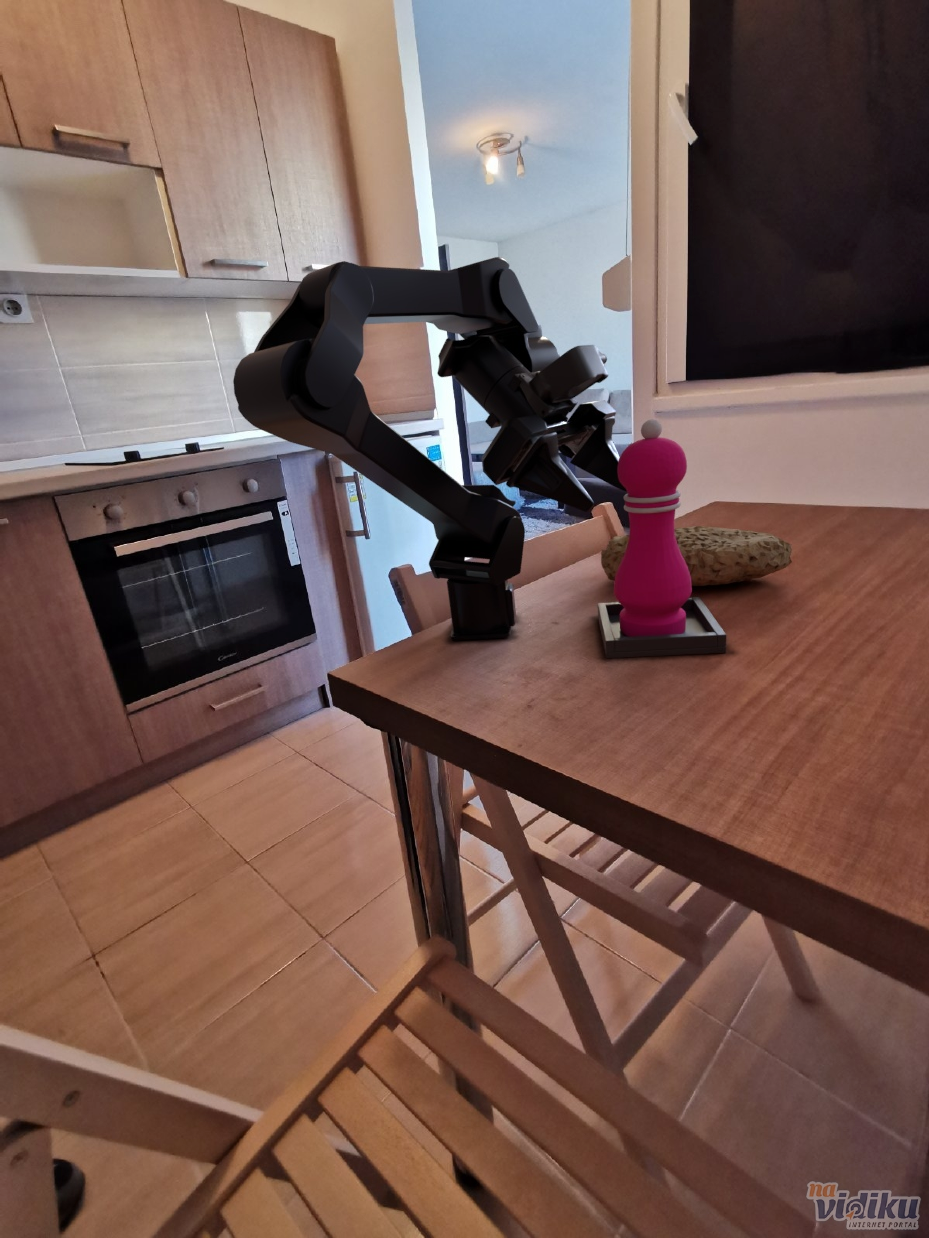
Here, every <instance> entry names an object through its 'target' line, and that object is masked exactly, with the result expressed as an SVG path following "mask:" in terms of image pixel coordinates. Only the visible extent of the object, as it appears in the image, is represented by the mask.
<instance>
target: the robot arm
mask: <svg viewBox="0 0 929 1238" xmlns="http://www.w3.org/2000/svg"><path fill="white" fill-rule="evenodd" d="M407 323H408V324H409V323H428V324H432V325H434V326H435V328H437V330H440V331H444V332H449V333H452V334H457V335H459V336H460V337H461V338H462V339H453V338H449V337H448V338H446V339H445V341H444V343H443V345H442V347H441V349H440V350H439V354H438V361H439V362H438V369H437V373H436V374H437V376H438V377H439V378H448V377H452V378H453V379H454V380H455V381H456V382H457V383H458V384H459V385H460V386H461V387H462V388H463V389H464V390H465V391H466V392H467V393H468V395H470V396H471V397H472V398H473V399H474V400H475V402H477V404H478V405H480V407H481V408H482V409H483V410H484V411H485V412H486V413H487V414H488V416H487V417H486V419H485V421H484V422H485V423H486V424H487V426H488V427H489V428H490V429H495V428H499V427H500V428H499V430H498V431H497V432H496V435H494V438H493V439H492V441H491V442H490V444H489V445H488V447H487V448H486V449H485V451H484V453H483V455H482V456H481V464H482V472H483V473H484V475H486V476H487V478H488V479H489V480H490V481H491V482H492V483H493V484H460V482H458V481H457V480H455V479H454V477H452V476H451V475H450V474H448V473H447V472H446V471H445V470H443V469H442V468H441V467H440V466H439V465H438V464H436V463H435V462H434V461H433V460H432V459H430V458H429V457H428V456H427V455H425V454H424V452H422V451H420V449H418V448H417V447H416V446H415V445H413V444H412V443H411V442H409V440H407V439H406V438H405V437H403V436H402V435H401V434H400V433H399V432H397V431H396V430H395V429H394V428H392V427H391V426H390V425H389V424H388V423H386V422H385V421H384V420H382V418H381V417H379V416H378V415H377V414H375V413H374V412H373V411H372V409H371V407H370V403H369V401H368V397H367V394H366V391H365V387H364V384H363V383H362V381H361V379H360V378H359V377H358V376H357V375H356V373H357V370H358V368H359V366H360V364H361V361H362V359H363V357H364V351H365V349H364V348H365V347H364V325H379V324H407ZM607 361H608V356H607V355H606V354H605V353H602V352H601V351H600V349H599V348H598V346H596V345H595V344H582V345H577V346H573V347H572V348H570V349H568V350H567V351H566V352H564V353H563V354H561V355H560V354H559V352H558V349H557V347H556V345H555V344H554V343H553V341H552V340H550V339H549V338H547V337H545V336H543V327H542V325H541V324H539V323H538V321H537V318H536V316H535V314H534V312H533V309H532V307H531V306H530V303H529V300H528V299H527V296H526V294H525V292H524V290H523V287H522V285H521V283H520V280H519V279H518V276H517V274H516V273H515V272H514V270H512V269H511V268H510V263H509V262H508V261H507V260H506V259H505V258H502V257H500V256H494V257H492V258H487V259H484V260H481V261H476V262H473V263H470V264H466V265H463V266H460V267H456V268H453V269H449V270H443V269H441V270H440V269H425V268H424V269H422V268H408V267H407V268H406V267H405V268H404V267H388V266H387V267H386V266H385V267H384V266H369V265H368V266H367V265H359V264H356V263H353V262H349V261H345V260H343V261H339V262H338V261H337V262H334V263H333V264H330V265H327V266H325V267H321V268H319V269H317V270H315V271H311V272H308V273H307V274H306V275H305V276H304V277H303V278H302V279H301V282H300V283H299V284H298V285H297V288H296V289H295V292H294V293H293V295H292V297H291V299H290V301H289V302H288V304H287V305H286V307H285V308H284V309H283V310H282V311H281V313H280V314H279V315H278V316H277V317H276V319H275V320H274V321H273V323H272V324H271V325H270V326H269V328H268V329H267V330H266V331H265V332H264V333H263V335H262V336H261V337H260V339H259V341H258V343H257V345H256V347H255V349H254V352H250V353H248V354H247V355H246V356H244V357H242V358H241V359H240V361H239V363H238V364H237V366H236V368H235V370H234V375H233V379H232V380H233V381H232V382H233V392H234V394H233V395H234V397H235V399H236V402H237V410H238V411H239V413H240V415H241V416H242V417H243V418H244V419H245V420H246V421H247V422H248V423H249V424H251V425H252V426H253V427H254V428H256V429H258V430H261V431H262V432H266V433H267V434H270V435H273V436H275V437H277V438H280V439H282V440H285V441H287V442H289V443H292V444H296V445H299V446H303V447H306V448H310V449H313V450H317V451H321V452H325V453H327V454H330V455H332V456H334V457H335V458H337V459H338V460H340V461H341V462H343V463H344V464H346V465H347V466H349V467H350V468H351V469H353V470H355V471H356V472H357V473H359V474H360V475H362V476H363V477H365V478H366V479H367V480H368V481H370V482H372V483H373V484H375V485H376V486H378V487H379V488H381V489H382V490H383V491H385V492H386V493H388V494H390V496H392V497H394V498H395V499H397V500H398V501H400V502H401V503H402V504H404V505H405V506H407V507H408V508H410V509H412V510H413V511H414V512H416V513H417V514H419V515H420V516H421V517H423V518H424V519H426V520H427V521H428V522H430V524H432V525H433V530H434V534H435V538H436V539H437V542H436V545H435V547H434V549H433V552H432V554H431V555H430V559H429V560H428V566H429V568H430V571H431V573H432V575H433V579H444V580H447V581H446V587H447V595H448V602H449V610H450V618H451V625H452V629H451V631H450V634H449V637H450V640H451V641H464V640H482V639H483V640H485V639H502V638H509V637H510V636H511V632H512V627H514V626H515V625H516V621H517V609H516V597H515V589H514V587H515V586H514V584H513V582H509V581H508V580H510V579H512V578H514V577H516V576H518V575H519V574H521V572H522V564H523V563H522V562H523V554H524V546H525V536H526V529H525V524H524V522H523V518H522V515H521V514H520V512H519V511H518V510H517V508H515V507H514V506H515V505H516V503H517V502H516V500H512V499H510V498H508V497H507V496H506V495H505V494H504V492H503V491H502V489H500V487H498V485H502V484H503V483H505V486H506V487H508V488H510V489H512V488H516V489H519V490H523V491H525V492H529V493H531V494H536V495H538V496H540V497H544V498H546V499H549V500H553V501H554V502H557V503H560V504H563V505H566V506H568V507H570V508H574V509H576V510H579V511H581V512H585V513H588V512H590V511H591V509H592V508H593V507H595V502H594V500H593V499H592V497H591V495H590V494H589V493H588V492H587V490H586V489H585V487H584V486H583V485H582V484H581V482H580V481H579V480H578V479H577V477H576V476H575V475H574V473H573V472H572V470H571V469H570V468H569V467H568V466H567V464H566V463H565V461H563V459H562V458H561V456H560V454H561V455H562V456H564V457H566V458H569V459H571V460H570V461H569V463H570V464H571V465H573V466H575V467H576V468H578V469H580V470H582V471H585V472H586V473H588V474H590V475H591V476H594V477H596V478H597V479H599V480H600V481H602V482H605V483H607V484H608V485H611V486H612V487H614V488H616V489H618V490H621V491H623V492H625V493H628V492H627V490H626V488H625V487H624V486H623V485H622V484H621V483H620V481H619V478H618V472H617V469H618V462H619V458H620V454H619V453H618V452H619V451H618V450H617V448H616V446H615V444H614V442H613V427H614V425H615V424H616V418H615V416H616V414H617V410H616V409H614V407H613V406H612V405H610V403H608V402H607V400H605V399H603V400H601V399H600V400H594V401H589V402H584V403H579V405H578V401H577V400H576V399H575V398H576V397H578V396H579V395H581V394H582V393H584V392H585V391H586V390H588V389H590V388H591V387H592V386H594V385H596V384H600V383H602V382H604V381H605V380H606V379H608V378H609V373H608V371H607V368H606V362H607ZM577 405H578V406H577ZM576 406H577V407H576ZM575 408H576V409H575ZM574 409H575V410H574ZM573 410H574V411H573ZM572 411H573V413H572ZM569 413H572V414H571V416H570V417H568V415H569ZM466 558H467V559H478V560H479V559H480V560H488V562H481V561H471V560H465V559H466Z"/></svg>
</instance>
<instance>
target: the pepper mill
mask: <svg viewBox="0 0 929 1238" xmlns="http://www.w3.org/2000/svg"><path fill="white" fill-rule="evenodd" d="M662 432H663V426H662V424H661V422H660V421H659V420H657V419H647V420H646V421H645V422H644V423H643V424H642V425H641V428H640V434H641V437H643V438H641V439H639V440H636V441H633V442H632V443H631V444H629V445H628V446H626V447H625V448H624V450H623V451H622V452H621V454H620V455H619V457H620V458H619V462H618V469H617V472H618V478H619V481H620V483H621V484H622V485H623V486H624V487H625V488H626V490H627V492H626V494H624V495H623V500H624V505H623V510H624V511H625V512H628V520H629V531H628V532H629V533H628V535H629V540H628V545H627V549H626V551H625V554H624V556H623V558H622V561H621V563H620V565H619V568H618V570H617V573H616V577H615V581H613V582H614V583H613V595H614V597H615V599H616V601H617V602H619V603H620V604H621V605H622V606H623V607H624V609H623V610H622V611H621V612H620V630H621V632H622V633H623V634H625V635H626V636H628V637H632V636H651V635H670V634H682V633H683V632H684V631H685V629H686V613H685V611H684V610H683V609H682V608H680V607H681V606H682V605H683V604H684V603H685V602H686V601H687V600H688V598H690V597H691V595H692V591H693V588H692V587H693V586H691V577H690V573H689V570H688V567H687V565H686V563H685V560H684V558H683V556H682V554H681V552H680V549H679V547H678V545H677V541H676V537H675V529H676V528H675V518H676V517H675V516H676V509H679V508H680V506H681V502H680V497H681V492H680V491H679V490H677V488H678V486H679V485H680V483H681V482H682V481H683V479H684V478H685V476H686V473H687V469H688V463H687V457H686V453H685V451H684V449H683V448H682V446H681V445H680V444H679V443H677V442H676V441H675V440H672V439H669V438H666V437H660V436H661V435H662Z"/></svg>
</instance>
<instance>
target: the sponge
mask: <svg viewBox="0 0 929 1238" xmlns="http://www.w3.org/2000/svg"><path fill="white" fill-rule="evenodd" d="M674 529H675V537H676V541H677V545H678V547H679V549H680V552H681V554H682V556H683V558H684V560H685V563H686V565H687V567H688V570H689V573H690V577H691V586H692V587H705V586H719V585H720V586H721V585H728V584H733V583H740V582H745V581H750V580H753V579H759V578H763V577H766V576H769V575H770V574H774V573H776V572H779V571H781V570H784V569H785V568H787V567H789V566H790V565H791V564H792V563H793V562H792V559H791V555H792V552H793V551H792V550H793V549H792V544H791V543H789V542H786V541H785V540H783V539H781V538H780V537H778V536H776V535H775V534H771V533H768V532H760V531H753V530H744V529H738V528H737V529H736V528H735V529H733V528H728V527H727V528H726V527H715V526H701V525H697V526H696V525H695V526H687V527H676V528H674ZM628 540H629V534H626V533H625V534H624V535H622V536H613V538H612V539H610V540H609V541H608V544H607V545H606V549H604V548H603V549H602V550H601V552H600V556H601V557H600V565H601V567H602V569H603V571H604V573H605V575H606V577H607V579H608V580H610V581H611V582H614V581H615V577H616V573H617V570H618V568H619V565H620V563H621V561H622V558H623V556H624V554H625V551H626V549H627V545H628Z"/></svg>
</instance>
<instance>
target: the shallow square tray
mask: <svg viewBox="0 0 929 1238" xmlns="http://www.w3.org/2000/svg"><path fill="white" fill-rule="evenodd" d="M680 608H682V609H683V610H684V611H685V613H686V629H685V631H684V632H683V633H682V634H670V635H651V636H632V637H628V636H626V635H625V634H623V633H622V632H621V630H620V612H621V611H622V610H623V609H624V607H623V606H622V605H621V604H620V603H619V602H618V601H611V602H598V603H597V619H598V624H599V630H600V634H601V640H602V643H603V649H604V654H605V658H606V659H619V658H620V659H621V658H641V657H662V656H663V657H665V656H684V655H687V656H688V655H706V654H709V655H710V654H726V652H727V636H728V635H727V634H726V632H725V631H724V630H723V628H722V626H721V625H720V624H719V622H718V621H717V620H716V618H715V617H714V616H713V614H712V613H711V611H710V610H709V609H708V607H707V605H706V604H705V603H704V602H703V600H702V598H701V597H699V596H692V597H691V596H690V597H689V598H688V600H687V601H686V602H685V603H684V604H683V605H682V606H681V607H680Z"/></svg>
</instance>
